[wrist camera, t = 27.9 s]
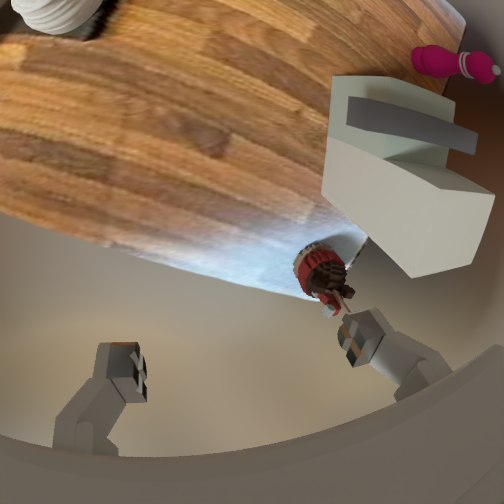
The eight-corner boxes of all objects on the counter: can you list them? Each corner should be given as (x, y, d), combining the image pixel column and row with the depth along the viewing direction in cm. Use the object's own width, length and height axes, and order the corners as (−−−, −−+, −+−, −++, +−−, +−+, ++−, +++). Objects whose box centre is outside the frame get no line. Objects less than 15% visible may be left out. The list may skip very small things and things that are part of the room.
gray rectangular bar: (346, 124, 28) (365, 130, 25) (348, 95, 26) (368, 98, 23) (456, 147, 33) (474, 155, 29) (459, 127, 31) (478, 133, 27)
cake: (342, 248, 58) (388, 302, 43) (322, 282, 62) (359, 340, 47) (301, 236, 54) (345, 296, 39) (282, 274, 58) (315, 339, 43)
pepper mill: (430, 47, 36) (506, 55, 20) (433, 77, 40) (509, 93, 24) (407, 42, 35) (488, 45, 19) (411, 75, 40) (492, 88, 23)
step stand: (320, 194, 50) (411, 278, 28) (332, 76, 38) (456, 85, 17) (379, 194, 53) (470, 263, 31) (394, 90, 41) (510, 119, 20)
